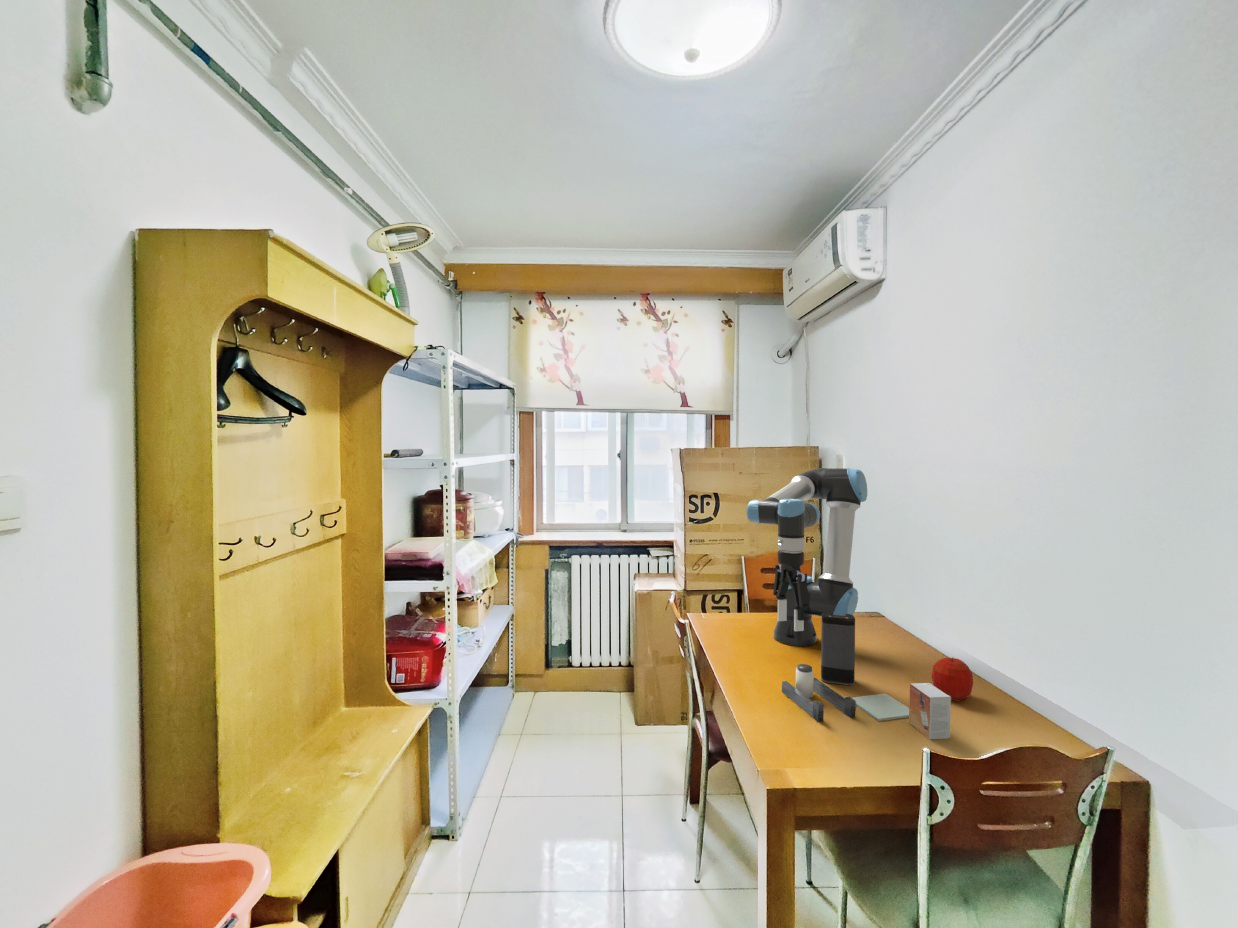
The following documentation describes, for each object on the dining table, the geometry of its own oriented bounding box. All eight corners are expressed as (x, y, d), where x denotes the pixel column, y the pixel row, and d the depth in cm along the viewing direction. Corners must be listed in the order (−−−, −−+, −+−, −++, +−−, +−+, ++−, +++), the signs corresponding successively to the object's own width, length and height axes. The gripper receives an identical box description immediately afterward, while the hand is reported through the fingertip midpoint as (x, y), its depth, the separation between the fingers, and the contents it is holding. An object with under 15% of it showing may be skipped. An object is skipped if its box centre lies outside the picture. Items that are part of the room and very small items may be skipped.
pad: (848, 699, 151) (848, 697, 151) (885, 695, 153) (885, 693, 153) (878, 720, 139) (878, 718, 139) (917, 715, 142) (917, 713, 142)
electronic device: (853, 678, 165) (853, 613, 164) (854, 686, 159) (855, 619, 159) (820, 674, 168) (821, 610, 167) (821, 682, 162) (822, 616, 162)
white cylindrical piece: (792, 691, 156) (792, 664, 156) (807, 689, 157) (807, 662, 157) (801, 699, 151) (801, 671, 151) (816, 697, 152) (817, 669, 152)
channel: (781, 691, 156) (781, 676, 156) (815, 687, 158) (815, 672, 158) (818, 722, 138) (818, 705, 138) (855, 717, 141) (855, 700, 141)
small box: (908, 723, 138) (909, 682, 138) (929, 722, 138) (929, 681, 138) (928, 740, 130) (929, 697, 130) (950, 738, 130) (951, 696, 130)
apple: (952, 687, 159) (953, 648, 158) (982, 703, 149) (983, 661, 148) (923, 690, 156) (923, 651, 156) (951, 706, 147) (952, 665, 146)
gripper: (761, 545, 170) (761, 615, 171) (799, 558, 150) (798, 638, 150) (783, 544, 172) (782, 613, 173) (823, 557, 151) (822, 636, 152)
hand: (790, 625), depth 161 cm, fingers open, 9 cm apart
